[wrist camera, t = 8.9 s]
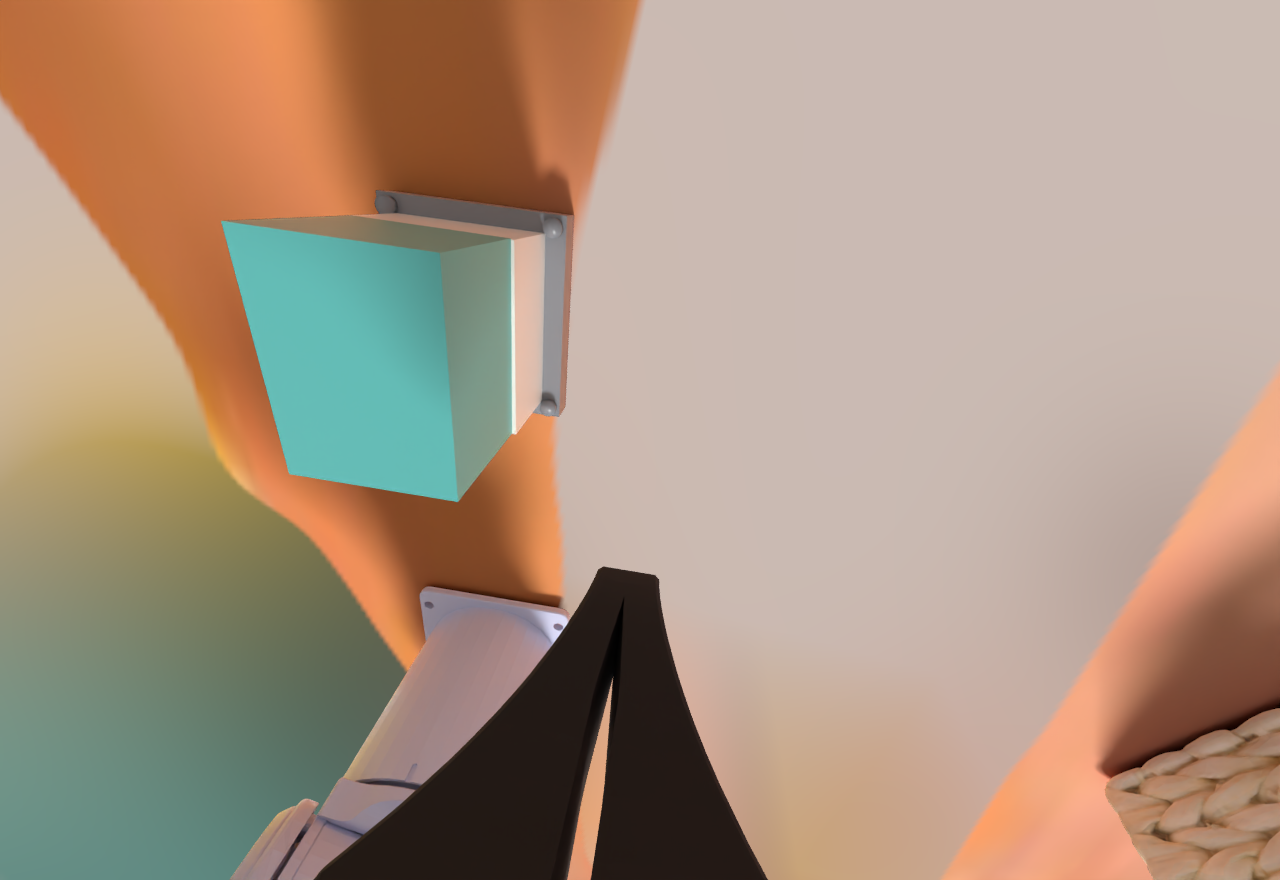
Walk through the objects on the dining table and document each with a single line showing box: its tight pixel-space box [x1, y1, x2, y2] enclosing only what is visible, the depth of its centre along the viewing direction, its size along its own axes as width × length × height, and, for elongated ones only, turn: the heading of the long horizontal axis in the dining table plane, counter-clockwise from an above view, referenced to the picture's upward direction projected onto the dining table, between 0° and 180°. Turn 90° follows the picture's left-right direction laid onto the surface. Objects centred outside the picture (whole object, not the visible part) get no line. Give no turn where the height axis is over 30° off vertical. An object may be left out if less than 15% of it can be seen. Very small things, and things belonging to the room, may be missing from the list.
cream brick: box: [343, 213, 545, 434], centre depth 16 cm, size 6×5×3 cm
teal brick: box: [221, 215, 512, 502], centre depth 12 cm, size 6×4×4 cm
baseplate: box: [375, 190, 574, 417], centre depth 17 cm, size 7×6×1 cm
